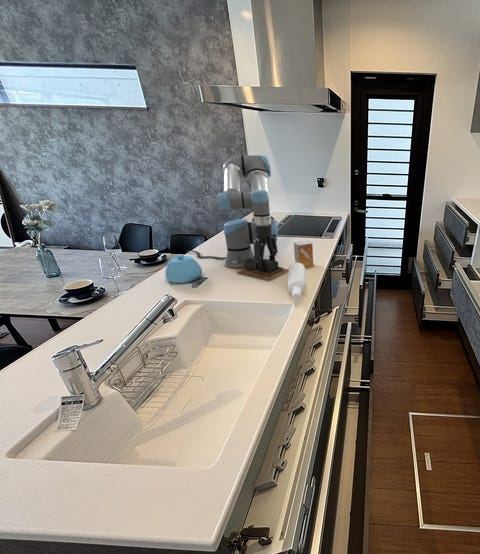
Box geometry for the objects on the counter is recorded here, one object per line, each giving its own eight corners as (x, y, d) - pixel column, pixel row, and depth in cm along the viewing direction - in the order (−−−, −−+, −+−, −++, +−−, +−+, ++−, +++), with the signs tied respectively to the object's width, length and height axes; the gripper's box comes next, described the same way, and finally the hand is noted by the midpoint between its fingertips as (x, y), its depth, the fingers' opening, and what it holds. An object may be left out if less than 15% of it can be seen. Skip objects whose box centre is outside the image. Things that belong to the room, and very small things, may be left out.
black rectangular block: (257, 270, 151) (256, 261, 149) (266, 267, 156) (265, 258, 154) (270, 273, 148) (269, 264, 146) (278, 269, 153) (277, 260, 151)
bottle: (289, 277, 148) (287, 307, 122) (288, 262, 145) (285, 289, 118) (306, 276, 150) (307, 305, 123) (305, 261, 147) (306, 288, 120)
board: (237, 273, 152) (236, 262, 150) (258, 264, 164) (256, 254, 161) (269, 280, 144) (267, 270, 142) (288, 271, 156) (287, 261, 154)
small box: (299, 269, 159) (297, 245, 154) (295, 265, 164) (293, 242, 159) (313, 266, 163) (312, 243, 158) (309, 262, 168) (307, 240, 163)
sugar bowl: (159, 281, 141) (152, 257, 136) (187, 270, 154) (182, 248, 149) (183, 286, 136) (177, 262, 131) (210, 274, 149) (205, 252, 144)
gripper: (254, 229, 133) (260, 277, 142) (282, 221, 149) (286, 265, 158) (241, 227, 136) (248, 274, 145) (270, 219, 152) (275, 262, 161)
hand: (268, 269), depth 152 cm, fingers closed on black rectangular block, 6 cm apart
